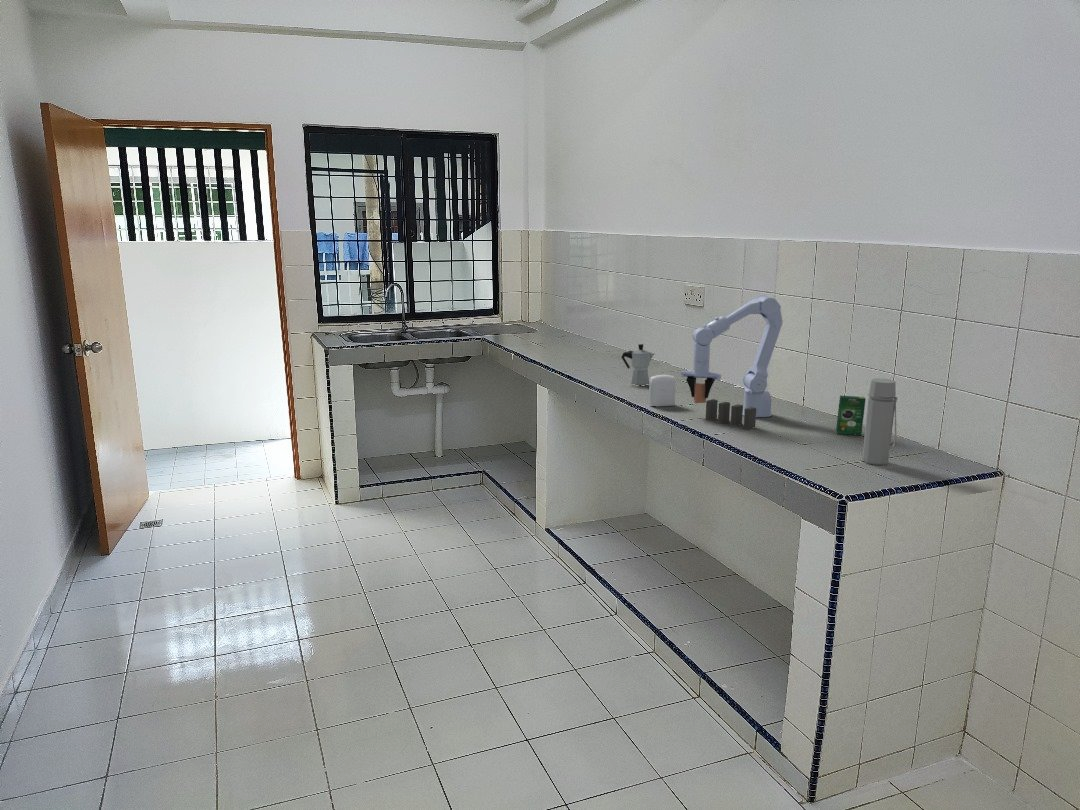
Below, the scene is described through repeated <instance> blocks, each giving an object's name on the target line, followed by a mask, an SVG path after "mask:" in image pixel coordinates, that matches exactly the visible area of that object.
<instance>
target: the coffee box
mask: <svg viewBox="0 0 1080 810" xmlns="http://www.w3.org/2000/svg"><path fill="white" fill-rule="evenodd" d="M865 407H866V397H865V396H855V395H854V396H853V395H839V400H838V411H837V418H836V419H837V420H836V426H835V427H836V430H835V433H836V432H837V433H836V435H843V434H844V435H847V434H856V435H855V436H862V435H863V434H862V433H863V424H864V415H865Z"/></svg>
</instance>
